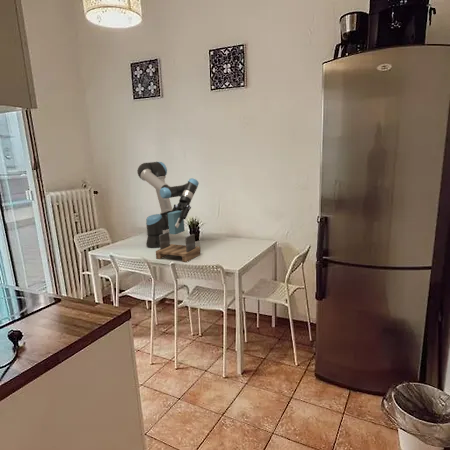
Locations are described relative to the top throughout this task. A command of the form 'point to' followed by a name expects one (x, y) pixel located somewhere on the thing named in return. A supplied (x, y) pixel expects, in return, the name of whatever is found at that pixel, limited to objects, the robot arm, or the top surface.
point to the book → (172, 222)
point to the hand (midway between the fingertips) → (172, 226)
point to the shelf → (177, 248)
